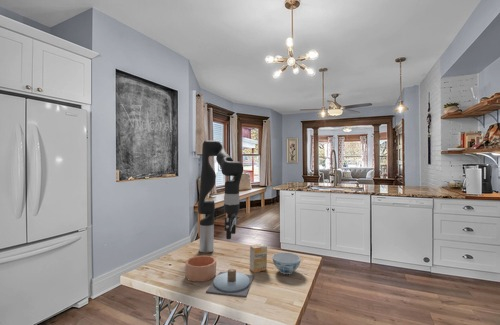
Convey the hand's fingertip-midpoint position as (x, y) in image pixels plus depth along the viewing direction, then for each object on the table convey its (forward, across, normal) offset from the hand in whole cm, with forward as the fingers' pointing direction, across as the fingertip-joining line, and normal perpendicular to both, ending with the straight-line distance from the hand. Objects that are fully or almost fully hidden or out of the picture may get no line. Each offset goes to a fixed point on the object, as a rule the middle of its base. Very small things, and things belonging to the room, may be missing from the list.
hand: (231, 236), depth 117 cm
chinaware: (+22, -18, +26) cm, 39 cm away
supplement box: (+23, -17, +11) cm, 30 cm away
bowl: (+22, -5, -17) cm, 28 cm away
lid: (+22, +1, +1) cm, 22 cm away
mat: (+22, +1, +1) cm, 22 cm away
